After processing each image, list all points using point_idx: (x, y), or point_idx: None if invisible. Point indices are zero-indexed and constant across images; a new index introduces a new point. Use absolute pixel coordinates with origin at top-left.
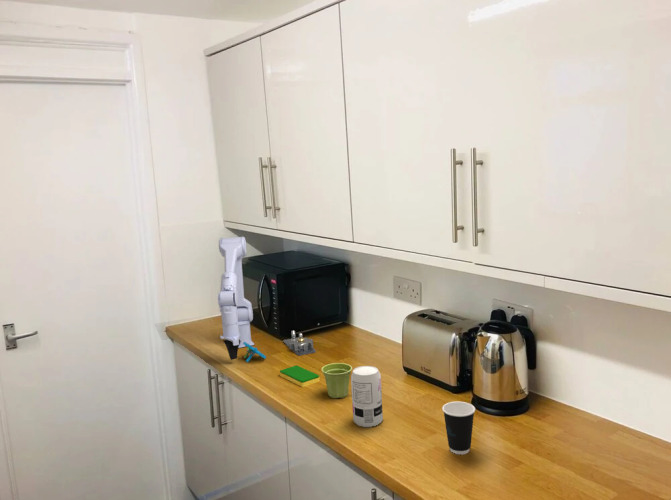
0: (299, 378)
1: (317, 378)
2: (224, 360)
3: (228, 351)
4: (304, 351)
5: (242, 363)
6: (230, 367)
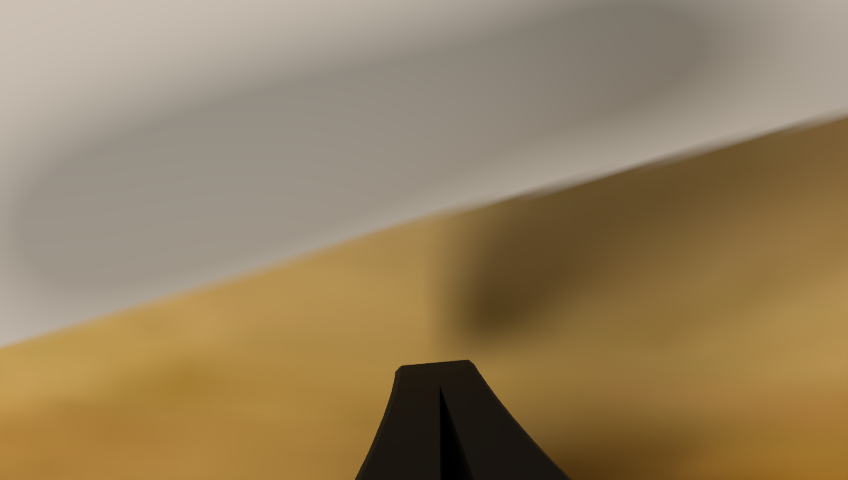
0: None
1: None
2: (682, 231)
3: (437, 476)
4: None
5: None
6: (269, 279)
